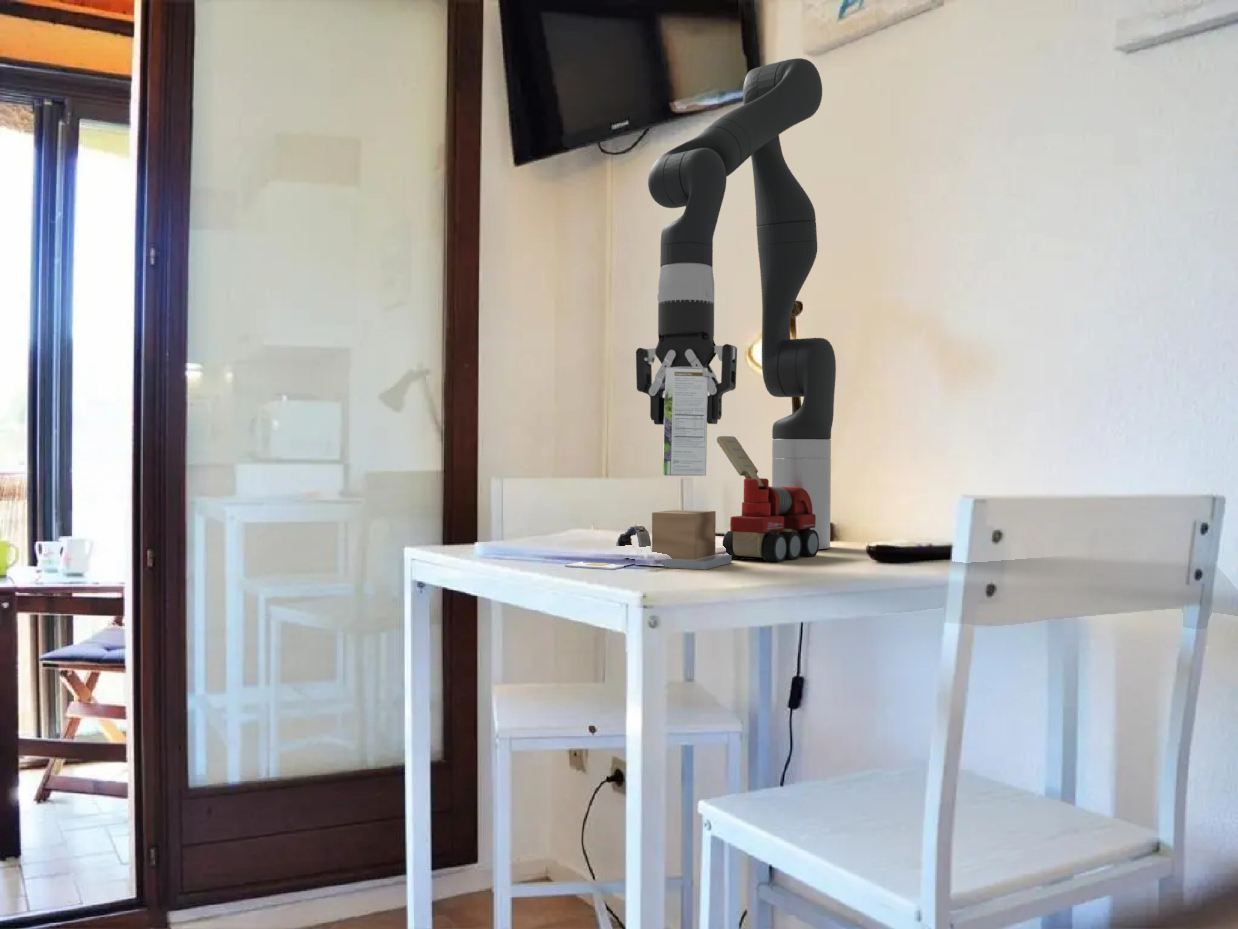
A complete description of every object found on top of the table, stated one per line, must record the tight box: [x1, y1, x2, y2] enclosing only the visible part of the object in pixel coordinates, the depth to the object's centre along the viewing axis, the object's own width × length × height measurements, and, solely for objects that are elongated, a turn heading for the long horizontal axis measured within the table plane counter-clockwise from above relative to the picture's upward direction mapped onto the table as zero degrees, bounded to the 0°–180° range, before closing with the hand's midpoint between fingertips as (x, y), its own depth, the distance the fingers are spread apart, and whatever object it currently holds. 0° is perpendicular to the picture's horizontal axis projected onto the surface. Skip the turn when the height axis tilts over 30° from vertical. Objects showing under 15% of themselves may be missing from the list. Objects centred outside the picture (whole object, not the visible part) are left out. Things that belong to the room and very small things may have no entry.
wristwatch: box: [615, 525, 652, 548], centre depth 147 cm, size 3×5×5 cm
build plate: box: [661, 554, 733, 571], centre depth 141 cm, size 10×10×1 cm
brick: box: [651, 509, 717, 560], centre depth 141 cm, size 8×6×6 cm
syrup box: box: [662, 367, 709, 477], centre depth 141 cm, size 6×6×14 cm
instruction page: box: [564, 561, 625, 570], centre depth 139 cm, size 9×7×1 cm
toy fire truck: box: [716, 435, 819, 563], centre depth 152 cm, size 11×16×18 cm
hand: (685, 423), depth 141 cm, fingers closed on syrup box, 7 cm apart
